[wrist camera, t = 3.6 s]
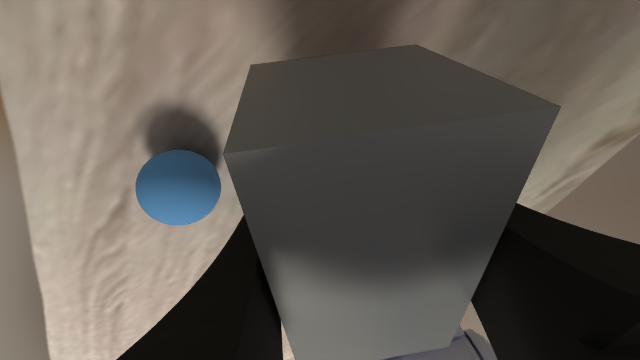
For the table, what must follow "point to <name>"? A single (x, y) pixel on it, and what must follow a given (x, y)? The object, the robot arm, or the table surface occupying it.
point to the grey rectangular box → (378, 192)
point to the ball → (178, 187)
